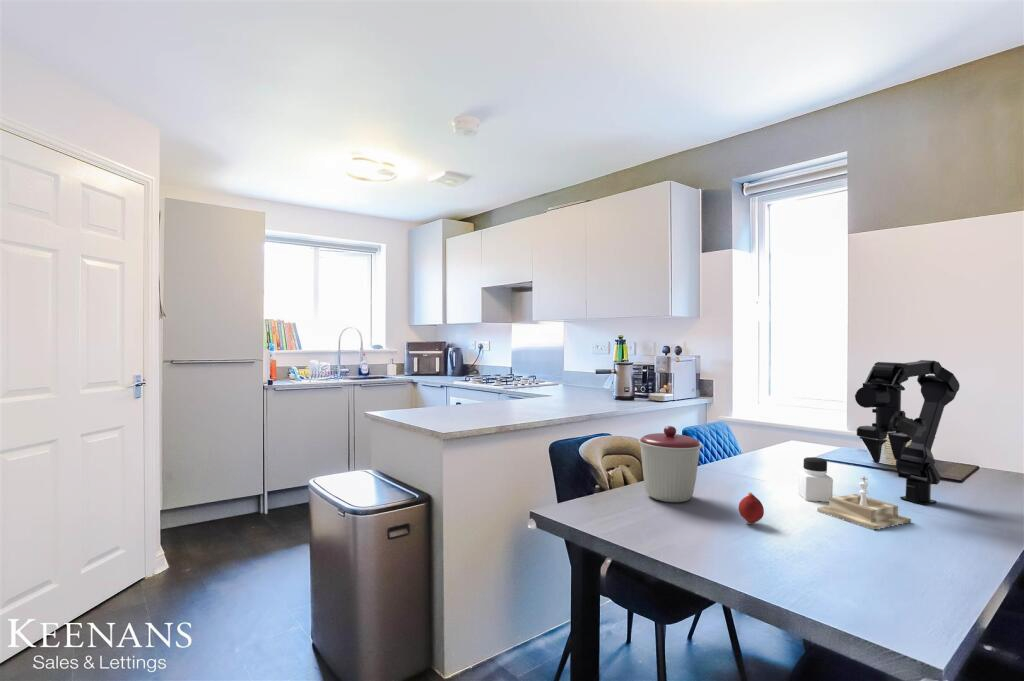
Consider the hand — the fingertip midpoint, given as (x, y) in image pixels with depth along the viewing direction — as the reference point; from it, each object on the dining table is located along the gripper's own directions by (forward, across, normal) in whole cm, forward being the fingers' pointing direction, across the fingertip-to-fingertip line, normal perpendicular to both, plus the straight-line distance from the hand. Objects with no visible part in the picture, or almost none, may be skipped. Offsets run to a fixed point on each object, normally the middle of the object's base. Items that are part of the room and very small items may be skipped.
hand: (887, 461), depth 146 cm
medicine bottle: (+13, -12, +13) cm, 22 cm away
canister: (+13, -53, +29) cm, 62 cm away
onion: (+13, -48, +4) cm, 50 cm away
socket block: (+13, -15, -3) cm, 20 cm away
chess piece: (+12, -15, -3) cm, 19 cm away
